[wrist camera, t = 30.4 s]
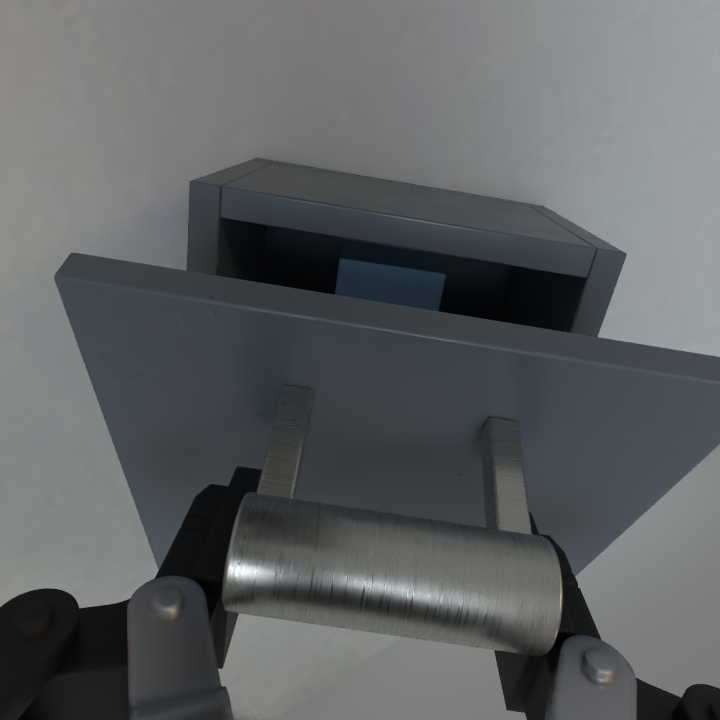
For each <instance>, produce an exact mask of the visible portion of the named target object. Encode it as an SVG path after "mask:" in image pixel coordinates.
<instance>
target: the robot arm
mask: <svg viewBox="0 0 720 720" xmlns="http://www.w3.org/2000/svg"><path fill="white" fill-rule="evenodd" d="M261 472H262V470H261V469H254V468H247V467H241V466H237V467H236V469H235V472H234V474H233V476H232V479H231V481H230V484H229V486H223V485H216V484H210V485H209V486H208V487H206V488H205V489H204V490H203V491H201V492H200V493H199V494H198V495H196V496H195V498H194V500H193V502H192V504H191V506H190V508H189V510H188V514H187V515H186V516H185V519H184V521H183V523H182V525H181V528H180V529H179V531H178V533H177V535H176V537H175V539H174V541H173V543H172V545H171V547H170V549H169V551H168V553H167V555H166V557H165V559H164V561H163V563H162V565H161V567H160V569H159V571H158V573H157V575H156V577H155V579H153V580H151V581H149V582H147V583H145V584H144V585H142V586H141V587H140V588H138V589H137V590H136V591H135V593H134V594H133V595H132V597H131V598H130V599H128V600H126V601H123V602H119V603H116V604H110V605H103V606H95V607H87V608H79V606H78V603H77V601H76V599H75V598H74V597H73V596H72V595H70V594H69V593H67V592H65V591H62V590H58V589H38V590H33V591H29V592H26V593H23V594H21V595H19V596H17V597H15V598H13V599H11V600H10V601H8V602H7V603H5V604H4V605H3V606H2V607H0V720H233V715H232V709H231V704H230V699H229V695H228V691H227V689H226V687H225V686H224V687H222V686H221V683H220V678H219V672H218V668H221V669H223V665H224V662H225V659H226V655H227V652H228V648H229V645H230V641H231V638H232V634H233V631H234V627H235V624H236V620H237V617H238V614H239V613H234V612H227V611H225V610H224V609H223V607H222V584H223V576H224V569H225V563H226V558H227V553H228V548H229V543H230V539H231V534H232V530H233V526H234V523H235V519H236V516H237V513H238V510H239V507H240V504H241V502H242V500H243V498H244V496H245V495H246V493H249V492H253V493H257V489H258V485H259V481H260V476H261ZM529 515H530V524H531V532H532V535H538V536H543V537H545V538H546V539H548V540H549V541H550V543H551V544H552V545H553V547H554V549H555V551H556V554H557V557H558V560H559V564H560V569H561V576H562V587H563V605H562V616H561V622H560V627H559V631H558V635H557V638H556V640H555V643H554V645H553V647H552V648H551V650H550V651H549V652H548V653H547V654H545V655H542V656H533V655H526V654H519V653H512V652H505V651H498V650H494V652H495V656H496V661H497V666H498V670H499V676H500V680H501V685H502V690H503V695H504V699H505V704H506V709H507V710H510V711H517V712H524V713H525V714H526V718H527V720H720V689H719V688H716V687H713V686H710V685H706V684H696V685H692V686H690V687H689V688H687V689H686V691H685V693H684V694H683V696H682V698H681V697H678V696H676V695H674V694H671V693H669V692H667V691H664V690H662V689H659V688H657V687H655V686H652V685H650V684H648V683H646V682H643V681H641V680H639V679H638V678H636V677H635V674H634V672H633V669H632V668H631V666H630V664H629V663H628V661H627V660H626V659H625V658H624V657H623V656H622V655H621V654H620V653H619V652H618V651H617V650H616V649H614V648H613V647H612V646H610V645H609V644H607V643H606V642H604V641H602V640H601V638H600V635H599V633H598V630H597V628H596V626H595V623H594V621H593V619H592V616H591V614H590V611H589V609H588V607H587V604H586V602H585V599H584V597H583V595H582V592H581V590H580V588H578V583H577V581H576V578H575V576H574V573H572V568H571V566H570V564H569V561H568V559H567V557H566V554H565V552H564V551H563V550H562V549H561V548H560V546H559V545H558V544H557V543H556V542H555V541H554V540H553V539H552V537H551V536H550V535H543V534H539V532H538V530H537V527H536V524H535V522H534V519H533V516H532V514H531V512H530V511H529Z"/></svg>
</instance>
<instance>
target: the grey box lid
mask: <svg viewBox="0 0 720 720" xmlns="http://www.w3.org/2000/svg"><path fill="white" fill-rule="evenodd" d="M54 279H55V282H56V285H57V288H58V291H59V293H60V296H61V299H62V302H63V304H64V307H65V310H66V313H67V316H68V318H69V321H70V324H71V327H72V329H73V332H74V335H75V338H76V341H77V343H78V346H79V349H80V352H81V355H82V357H83V360H84V363H85V366H86V368H87V371H88V374H89V377H90V380H91V382H92V385H93V388H94V391H95V393H96V396H97V399H98V402H99V405H100V407H101V410H102V413H103V416H104V419H105V421H106V424H107V427H108V430H109V432H110V435H111V438H112V441H113V444H114V446H115V449H116V452H117V455H118V458H119V460H120V463H121V466H122V469H123V471H124V474H125V477H126V480H127V483H128V485H129V488H130V491H131V494H132V496H133V499H134V502H135V505H136V508H137V510H138V513H139V516H140V519H141V522H142V524H143V527H144V530H145V533H146V535H147V538H148V541H149V544H150V547H151V549H152V552H153V555H154V558H155V560H156V563H157V566H158V569H160V567H161V565H162V563H163V561H164V559H165V557H166V555H167V553H168V551H169V549H170V547H171V545H172V543H173V541H174V539H175V537H176V535H177V533H178V531H179V529H180V528H181V525H182V523H183V521H184V519H185V516H186V515H187V514H188V510H189V508H190V506H191V504H192V502H193V500H194V498H195V496H196V495H198V494H199V493H200V492H201V491H203V490H204V489H205V488H206V487H208V486H209V485H210V484H216V485H223V486H229V484H230V481H231V479H232V476H233V474H234V472H235V469H236V467H237V466H241V467H247V468H254V469H261V470H262V472H261V476H260V481H259V485H258V489H257V493H253V492H249V493H246V495H245V496H244V498H243V500H242V502H241V504H240V507H239V510H238V513H237V516H236V519H235V523H234V526H233V530H232V534H231V539H230V543H229V548H228V553H227V558H226V563H225V569H224V576H223V584H222V607H223V609H224V610H225V611H227V612H234V613H241V614H248V615H255V616H262V617H269V618H276V619H283V620H290V621H297V622H304V623H311V624H317V625H324V626H331V627H338V628H345V629H352V630H359V631H366V632H373V633H380V634H387V635H394V636H401V637H408V638H415V639H422V640H429V641H435V642H442V643H449V644H456V645H463V646H471V647H477V648H485V649H491V650H498V651H505V652H512V653H519V654H526V655H533V656H542V655H545V654H547V653H548V652H549V651H550V650H551V648H552V647H553V645H554V643H555V640H556V638H557V635H558V631H559V627H560V622H561V616H562V605H563V587H562V576H561V569H560V564H559V560H558V557H557V554H556V551H555V549H554V547H553V545H552V544H551V543H550V541H549V540H548V539H546V538H545V537H543V536H538V535H532V532H531V524H530V515H529V511H530V512H531V514H532V516H533V519H534V522H535V524H536V527H537V530H538V532H539V534H543V535H550V536H551V537H552V539H553V540H554V541H555V542H556V543H557V544H558V545H559V546H560V548H561V549H562V550H563V551H564V552H565V554H566V557H567V559H568V561H569V564H570V566H571V568H572V573H574V576H576V575H578V574H579V573H580V572H581V571H582V570H583V569H584V568H585V567H586V566H587V565H588V564H589V563H591V562H592V561H593V560H594V559H595V558H596V557H597V556H598V555H599V554H600V553H602V552H603V551H604V550H605V549H606V548H607V547H608V546H609V545H610V544H611V543H612V542H614V541H615V540H616V539H617V538H618V537H619V536H620V535H621V534H622V533H623V532H624V531H626V530H627V529H628V528H629V527H630V526H631V525H632V524H633V523H634V522H635V521H636V520H638V519H639V518H640V517H641V516H642V515H643V514H644V513H645V512H646V511H647V510H648V509H650V508H651V507H652V506H653V505H654V504H655V503H656V502H657V501H658V500H659V499H660V498H662V497H663V496H664V495H665V494H666V493H667V492H668V491H669V490H670V489H671V488H672V487H674V486H675V485H676V484H677V483H678V482H679V481H680V480H681V479H682V478H683V477H684V476H686V474H688V473H689V472H690V471H691V470H692V469H693V468H694V467H695V466H696V465H697V464H699V463H700V462H701V461H702V460H703V459H704V458H705V457H706V456H707V455H709V453H711V452H712V451H713V450H714V449H715V448H716V447H717V446H718V445H719V444H720V357H716V356H710V355H704V354H697V353H691V352H685V351H679V350H673V349H667V348H660V347H654V346H648V345H642V344H636V343H629V342H623V341H617V340H611V339H605V338H599V337H592V336H586V335H580V334H574V333H568V332H561V331H555V330H549V329H543V328H537V327H531V326H524V325H518V324H512V323H506V322H500V321H493V320H487V319H481V318H475V317H469V316H463V315H456V314H450V313H444V312H438V311H432V310H425V309H419V308H413V307H407V306H401V305H395V304H388V303H382V302H376V301H370V300H364V299H357V298H351V297H345V296H339V295H333V294H327V293H320V292H314V291H308V290H302V289H296V288H289V287H283V286H277V285H271V284H265V283H258V282H252V281H246V280H240V279H234V278H228V277H221V276H215V275H209V274H203V273H197V272H190V271H184V270H178V269H172V268H166V267H160V266H153V265H147V264H141V263H135V262H129V261H122V260H116V259H110V258H104V257H98V256H92V255H85V254H79V253H71V254H70V255H69V256H68V258H67V259H66V260H65V262H64V263H63V264H62V266H61V267H60V268H59V270H58V271H57V272H56V274H55V277H54Z"/></svg>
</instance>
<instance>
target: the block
mask: <svg viewBox="0 0 720 720" xmlns="http://www.w3.org/2000/svg"><path fill="white" fill-rule="evenodd" d="M445 278H446V273H445V270H444V268H443V265H442V263H441V260H440V257H439V255H438V254H431V253H424V252H418V251H411V250H404V249H398V248H391V247H384V246H378V245H371V244H364V243H357V242H351V241H345V242H344V245H343V248H342V252H341V255H340V258H339V265H338V273H337V281H336V289H335V295H339V296H345V297H351V298H357V299H364V300H370V301H376V302H382V303H388V304H395V305H401V306H407V307H413V308H419V309H425V310H432V311H438V312H439V307H440V302H441V298H442V293H443V288H444V283H445Z"/></svg>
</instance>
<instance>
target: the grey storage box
mask: <svg viewBox="0 0 720 720" xmlns="http://www.w3.org/2000/svg"><path fill="white" fill-rule="evenodd" d="M345 241H351V242H357V243H364V244H371V245H378V246H384V247H391V248H398V249H404V250H411V251H418V252H424V253H431V254H438V255H439V257H440V260H441V263H442V265H443V268H444V270H445V273H446V278H445V283H444V288H443V293H442V298H441V302H440V307H439V312H444V313H450V314H456V315H463V316H469V317H475V318H481V319H487V320H493V321H500V322H506V323H512V324H518V325H524V326H531V327H537V328H543V329H549V330H555V331H561V332H568V333H574V334H580V335H586V336H592V337H598V334H599V331H600V328H601V325H602V323H603V320H604V317H605V314H606V311H607V308H608V306H609V303H610V300H611V297H612V294H613V292H614V289H615V286H616V283H617V280H618V278H619V275H620V272H621V269H622V266H623V263H624V261H625V258H626V253H624V252H623V251H621V250H619V249H617V248H616V247H614V246H612V245H610V244H609V243H607V242H605V241H604V240H602V239H600V238H598V237H597V236H595V235H593V234H591V233H590V232H588V231H586V230H584V229H583V228H581V227H579V226H577V225H576V224H574V223H572V222H570V221H569V220H567V219H565V218H563V217H562V216H560V215H558V214H556V213H555V212H553V211H551V210H549V209H548V208H546V207H544V206H540V205H534V204H528V203H522V202H516V201H510V200H504V199H498V198H492V197H486V196H480V195H475V194H469V193H463V192H457V191H451V190H445V189H439V188H433V187H427V186H421V185H415V184H409V183H403V182H397V181H391V180H385V179H379V178H374V177H368V176H362V175H356V174H350V173H344V172H338V171H332V170H326V169H320V168H314V167H308V166H302V165H296V164H290V163H284V162H278V161H273V160H267V159H261V158H255V159H252V160H249V161H246V162H244V163H241V164H238V165H235V166H232V167H229V168H226V169H224V170H221V171H218V172H215V173H212V174H209V175H206V176H204V177H201V178H198V179H195V180H192V181H190V190H189V222H188V254H187V271H190V272H197V273H203V274H209V275H215V276H221V277H228V278H234V279H240V280H246V281H252V282H258V283H265V284H271V285H277V286H283V287H289V288H296V289H302V290H308V291H314V292H320V293H327V294H333V295H335V289H336V281H337V273H338V265H339V258H340V255H341V252H342V248H343V245H344V242H345Z"/></svg>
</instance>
